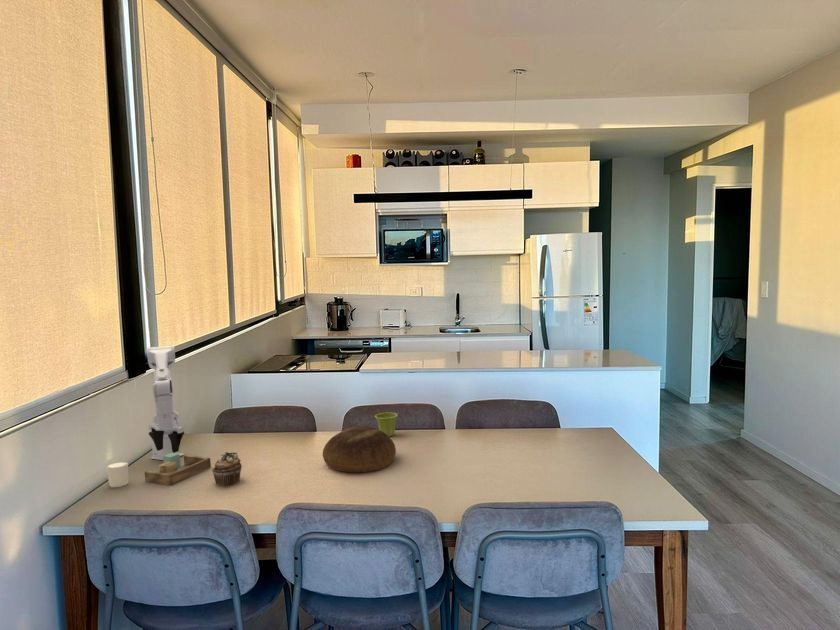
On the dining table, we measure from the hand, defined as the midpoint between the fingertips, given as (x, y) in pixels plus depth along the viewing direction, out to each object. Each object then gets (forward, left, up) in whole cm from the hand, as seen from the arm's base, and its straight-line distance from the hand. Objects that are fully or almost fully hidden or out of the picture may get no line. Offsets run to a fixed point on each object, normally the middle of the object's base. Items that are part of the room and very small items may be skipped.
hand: (167, 450), depth 214 cm
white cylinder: (-11, -12, -9) cm, 19 cm away
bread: (+59, +34, -10) cm, 69 cm away
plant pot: (+53, +68, -9) cm, 87 cm away
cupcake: (+25, +2, -9) cm, 27 cm away
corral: (+2, +2, -9) cm, 10 cm away
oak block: (+1, -2, -9) cm, 9 cm away
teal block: (-6, +7, -9) cm, 13 cm away
